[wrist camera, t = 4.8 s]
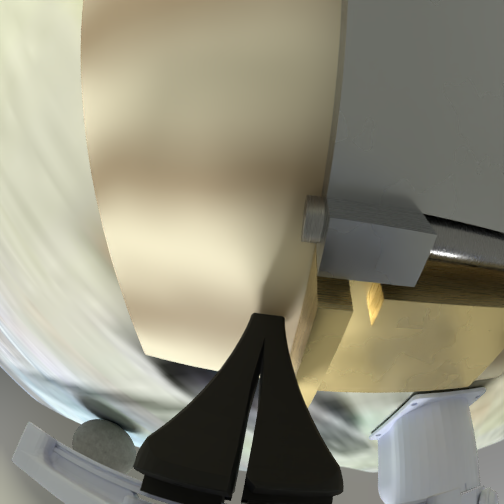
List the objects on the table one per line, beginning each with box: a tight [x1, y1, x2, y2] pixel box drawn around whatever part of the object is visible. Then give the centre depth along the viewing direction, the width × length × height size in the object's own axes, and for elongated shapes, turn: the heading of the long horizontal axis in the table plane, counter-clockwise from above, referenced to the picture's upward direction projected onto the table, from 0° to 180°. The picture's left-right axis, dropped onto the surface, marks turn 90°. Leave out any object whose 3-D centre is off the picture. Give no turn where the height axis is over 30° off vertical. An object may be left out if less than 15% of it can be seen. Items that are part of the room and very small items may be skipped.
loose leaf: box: [290, 245, 504, 408], centre depth 10 cm, size 8×12×3 cm
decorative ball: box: [72, 419, 136, 475], centre depth 30 cm, size 10×10×10 cm
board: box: [81, 0, 504, 381], centre depth 9 cm, size 22×26×1 cm
